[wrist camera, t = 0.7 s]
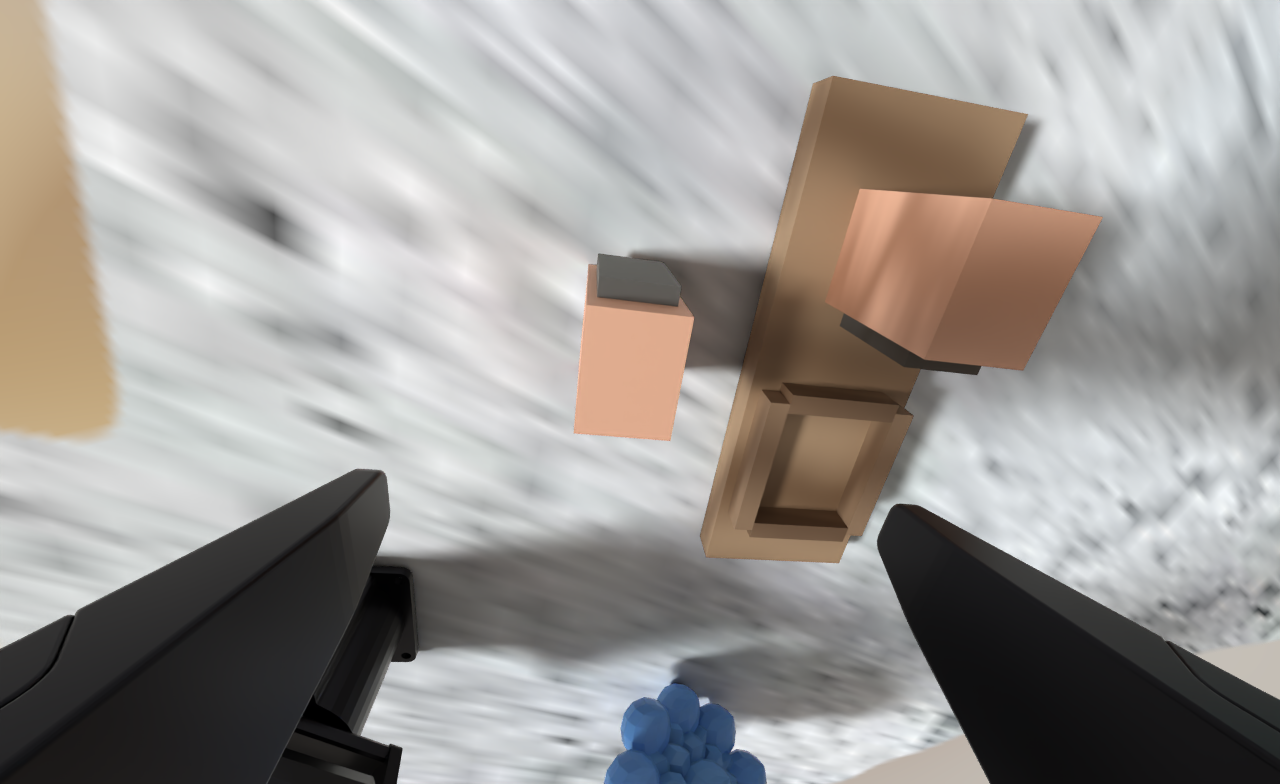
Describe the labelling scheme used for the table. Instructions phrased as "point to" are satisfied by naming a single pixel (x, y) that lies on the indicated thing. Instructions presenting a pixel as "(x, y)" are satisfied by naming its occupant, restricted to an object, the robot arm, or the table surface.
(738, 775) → the grapes
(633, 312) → the salmon and grey block
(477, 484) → the table surface
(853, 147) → the rail
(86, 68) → the table surface
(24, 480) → the table surface
